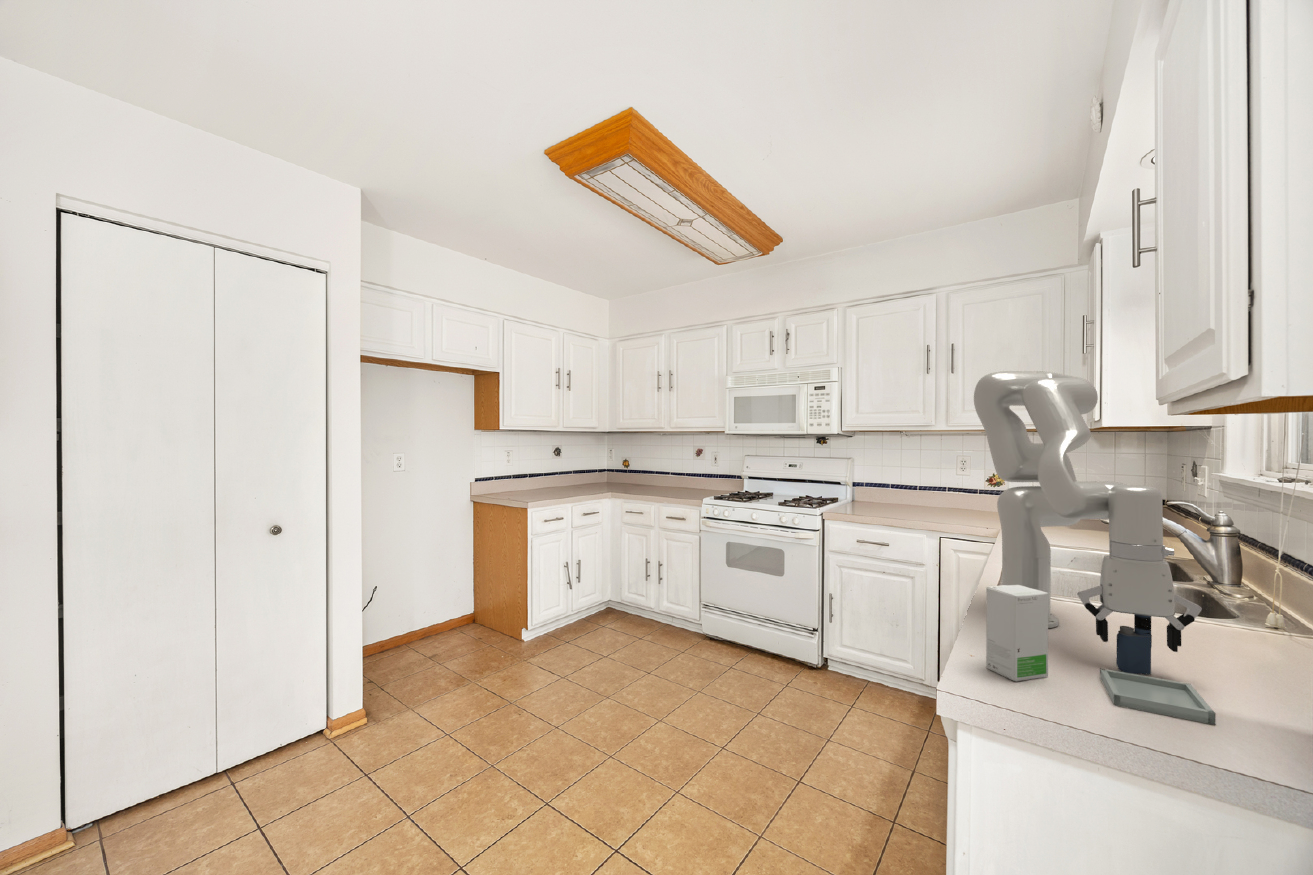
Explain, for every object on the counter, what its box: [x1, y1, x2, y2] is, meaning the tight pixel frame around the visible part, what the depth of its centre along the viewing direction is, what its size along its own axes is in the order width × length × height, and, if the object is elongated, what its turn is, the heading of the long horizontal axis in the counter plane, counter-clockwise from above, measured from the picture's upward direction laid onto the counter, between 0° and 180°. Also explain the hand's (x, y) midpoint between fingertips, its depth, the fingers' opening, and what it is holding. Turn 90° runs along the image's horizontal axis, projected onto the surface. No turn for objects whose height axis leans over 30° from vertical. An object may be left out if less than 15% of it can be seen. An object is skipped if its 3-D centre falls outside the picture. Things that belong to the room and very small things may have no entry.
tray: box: [1099, 668, 1217, 726], centre depth 90 cm, size 11×12×2 cm
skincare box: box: [985, 584, 1049, 682], centre depth 100 cm, size 8×7×16 cm
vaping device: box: [1115, 614, 1153, 676], centre depth 100 cm, size 3×5×12 cm, turn 78°
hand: (1137, 644), depth 99 cm, fingers open, 9 cm apart
